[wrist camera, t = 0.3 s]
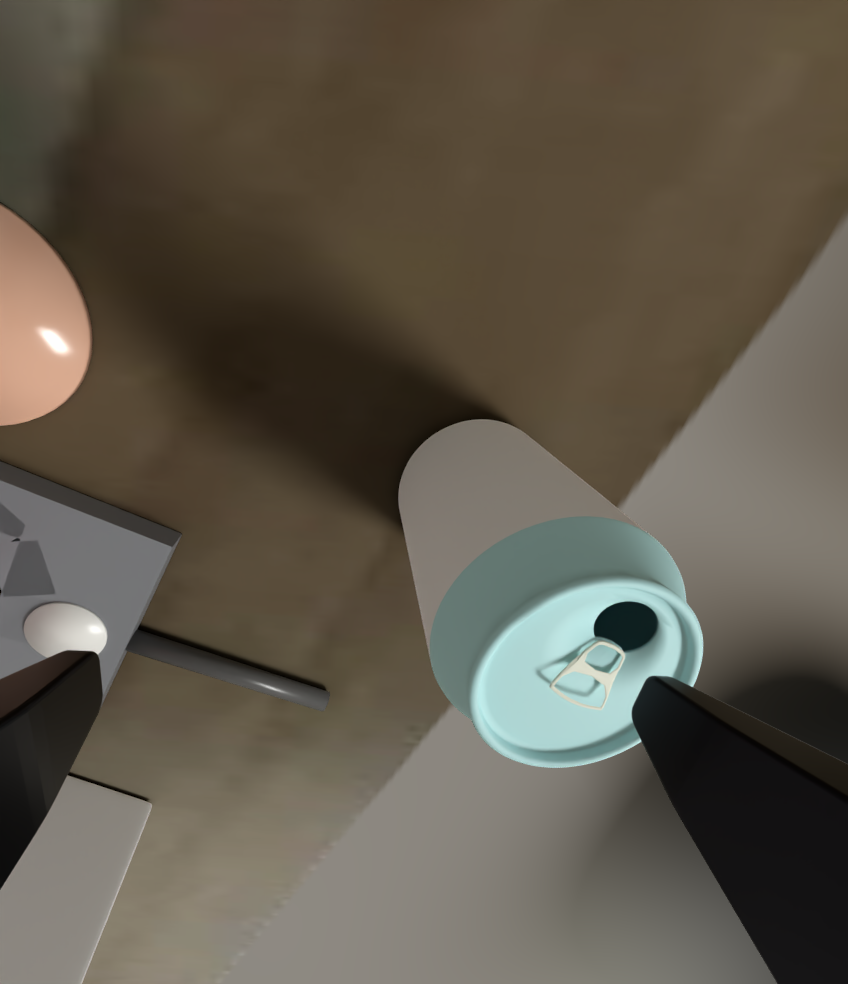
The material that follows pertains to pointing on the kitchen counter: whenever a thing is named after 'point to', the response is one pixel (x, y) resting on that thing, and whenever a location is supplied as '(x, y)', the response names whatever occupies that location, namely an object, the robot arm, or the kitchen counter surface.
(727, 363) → the kitchen counter surface
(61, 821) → the milk carton
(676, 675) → the can
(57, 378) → the peach round disc
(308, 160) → the kitchen counter surface
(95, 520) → the socket board
